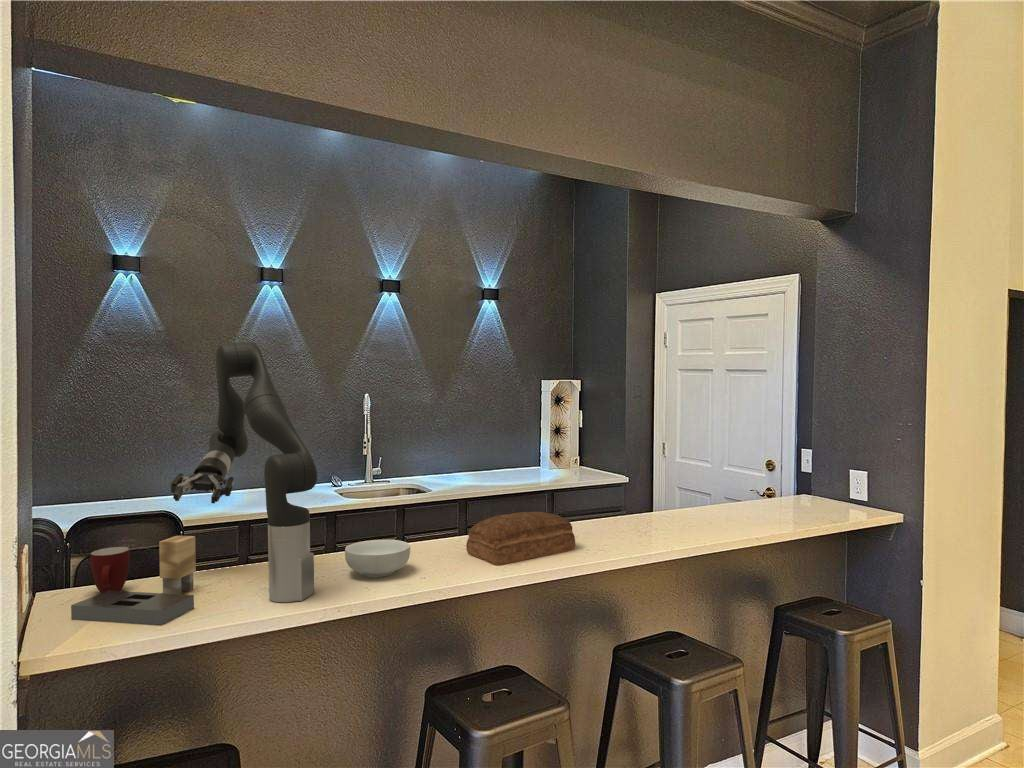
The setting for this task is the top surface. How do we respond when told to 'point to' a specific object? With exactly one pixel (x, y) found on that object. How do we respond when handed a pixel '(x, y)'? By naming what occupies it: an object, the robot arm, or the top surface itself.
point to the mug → (110, 568)
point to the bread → (519, 537)
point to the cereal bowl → (377, 557)
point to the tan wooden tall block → (177, 563)
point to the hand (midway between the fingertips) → (194, 499)
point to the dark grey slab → (132, 607)
